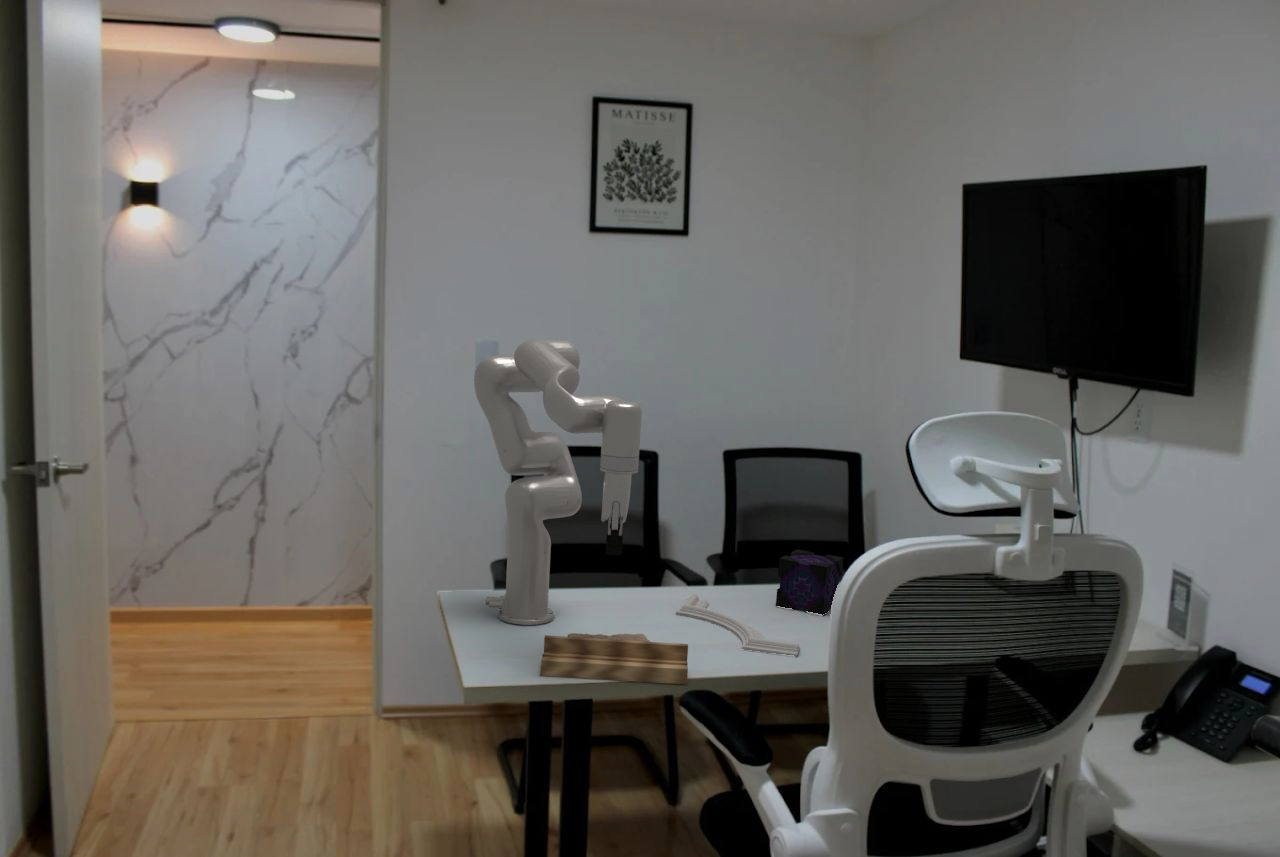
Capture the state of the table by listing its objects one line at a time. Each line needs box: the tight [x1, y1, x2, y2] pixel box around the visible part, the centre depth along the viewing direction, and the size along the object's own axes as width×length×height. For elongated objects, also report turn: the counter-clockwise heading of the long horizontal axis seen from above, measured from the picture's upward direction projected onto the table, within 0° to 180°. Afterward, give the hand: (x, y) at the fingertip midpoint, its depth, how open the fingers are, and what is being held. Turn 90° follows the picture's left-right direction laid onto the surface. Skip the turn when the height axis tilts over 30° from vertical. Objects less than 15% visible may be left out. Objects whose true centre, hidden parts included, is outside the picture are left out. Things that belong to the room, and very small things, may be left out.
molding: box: [675, 593, 801, 657], centre depth 249 cm, size 42×12×3 cm, turn 31°
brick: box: [566, 632, 651, 642], centre depth 224 cm, size 16×8×5 cm, turn 105°
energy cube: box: [775, 549, 844, 615], centre depth 270 cm, size 12×12×12 cm
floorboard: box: [540, 634, 689, 685], centre depth 217 cm, size 28×10×6 cm, turn 89°
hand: (613, 553), depth 222 cm, fingers closed
